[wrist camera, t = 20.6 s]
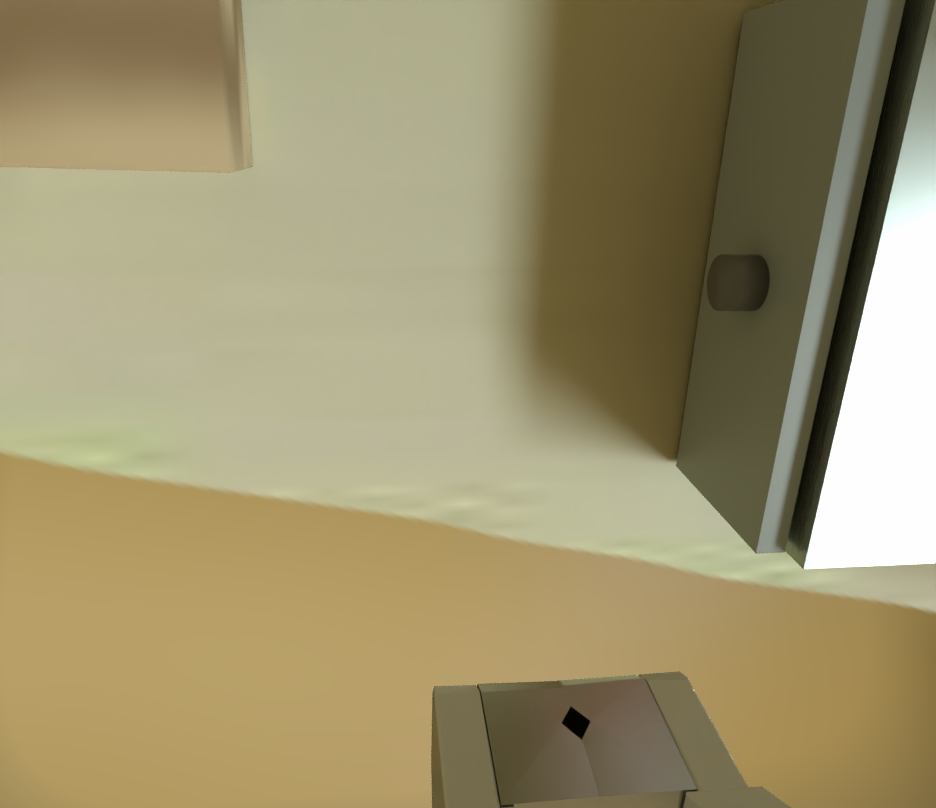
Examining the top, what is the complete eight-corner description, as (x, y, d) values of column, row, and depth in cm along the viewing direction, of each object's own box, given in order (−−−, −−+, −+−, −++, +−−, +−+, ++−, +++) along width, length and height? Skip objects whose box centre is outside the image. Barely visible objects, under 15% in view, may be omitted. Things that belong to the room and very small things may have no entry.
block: (-20, -100, 20) (-109, -153, 16) (234, -82, 21) (205, -129, 17) (26, 160, 23) (-42, 165, 19) (252, 166, 23) (229, 172, 20)
